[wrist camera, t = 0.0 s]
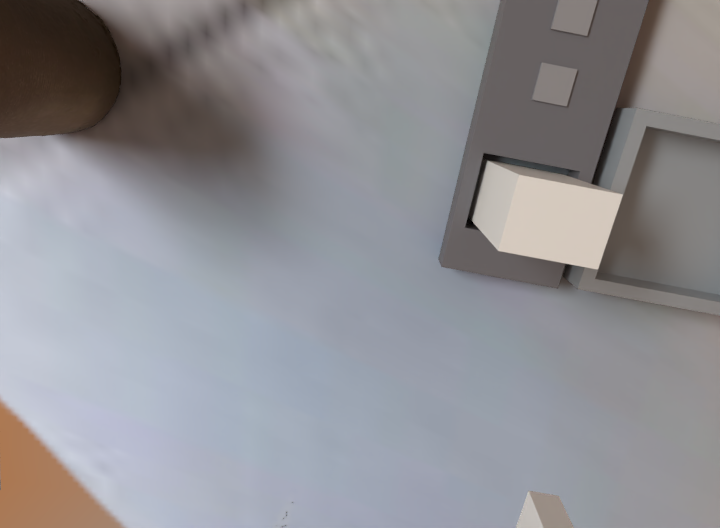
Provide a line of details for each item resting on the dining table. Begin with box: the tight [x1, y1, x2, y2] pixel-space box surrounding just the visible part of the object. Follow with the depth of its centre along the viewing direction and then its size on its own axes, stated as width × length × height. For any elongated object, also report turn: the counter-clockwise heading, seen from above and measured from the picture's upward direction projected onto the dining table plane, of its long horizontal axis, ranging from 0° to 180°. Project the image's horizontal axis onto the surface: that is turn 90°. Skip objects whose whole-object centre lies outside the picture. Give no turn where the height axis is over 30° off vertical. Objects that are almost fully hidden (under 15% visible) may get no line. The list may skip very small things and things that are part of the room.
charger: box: [469, 159, 623, 270], centre depth 34 cm, size 4×6×10 cm
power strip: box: [439, 0, 649, 288], centre depth 36 cm, size 24×9×3 cm, turn 170°
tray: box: [563, 108, 720, 316], centre depth 38 cm, size 13×13×3 cm
